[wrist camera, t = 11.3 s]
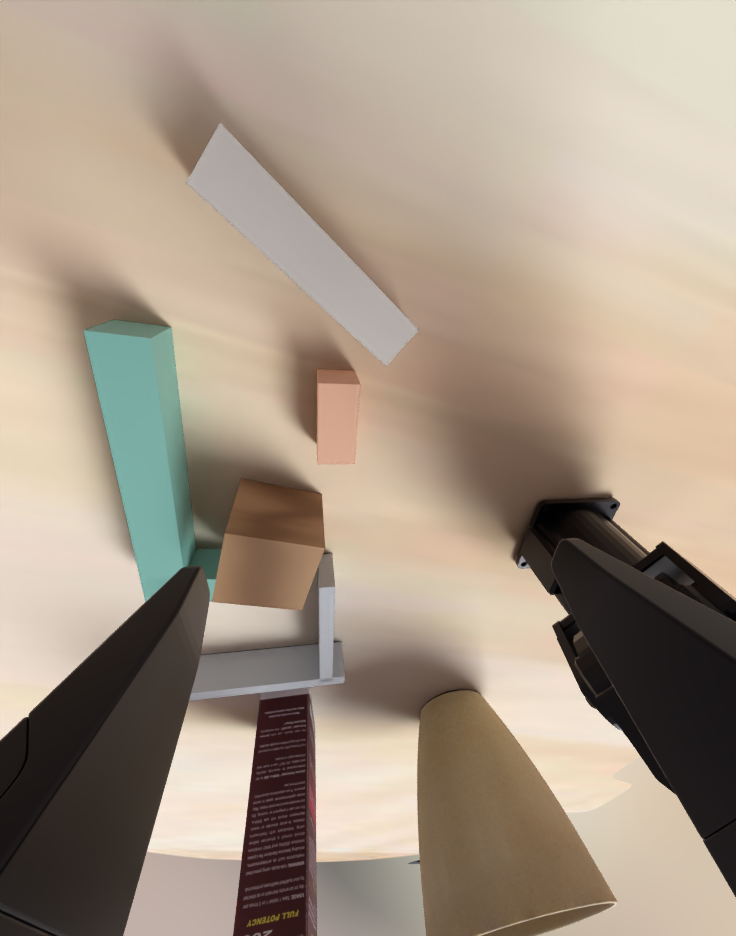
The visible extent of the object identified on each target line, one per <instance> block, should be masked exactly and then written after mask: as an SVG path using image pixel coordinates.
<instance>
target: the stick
mask: <svg viewBox="0 0 736 936" xmlns="http://www.w3.org/2000/svg"><path fill="white" fill-rule="evenodd" d="M186 183H187V184H188V185H189V186H190V187H191V188H192V189H193V190H194V191H195V192H197V193H198V194H199V195H200V196H201V197H202V198H203V199H204V200H205V201H206V202H207V203H209V204H210V205H211V206H212V207H213V208H214V209H215V210H216V211H217V212H218V213H219V214H221V215H222V216H223V217H224V218H225V219H226V220H227V221H228V222H229V223H230V224H231V225H232V226H234V227H235V228H236V229H237V230H238V231H239V232H240V233H241V234H242V235H243V236H244V237H246V238H247V239H248V240H249V241H250V242H251V243H252V244H253V245H254V246H255V247H256V248H258V249H259V250H260V251H261V252H262V253H263V254H264V255H265V256H266V257H267V258H268V259H270V260H271V261H272V262H273V263H274V264H275V265H276V266H277V267H278V268H279V269H280V270H282V271H283V272H284V273H285V274H286V275H287V276H288V277H289V278H290V279H291V280H292V281H294V282H295V283H296V284H297V285H298V286H299V287H300V288H301V289H302V290H303V291H304V292H305V293H307V294H308V295H309V296H310V297H311V298H312V299H313V300H314V301H315V302H316V303H317V304H319V305H320V306H321V307H322V308H323V309H324V310H325V311H326V312H327V313H328V314H329V315H331V316H332V317H333V318H334V319H335V320H336V321H337V322H338V323H339V324H340V325H341V326H343V327H344V328H345V329H346V330H347V331H348V332H349V333H350V334H351V335H352V336H353V337H355V338H356V339H357V340H358V341H359V342H360V343H361V344H362V345H363V346H364V347H365V348H367V349H368V350H369V351H370V352H371V353H372V354H373V355H374V356H375V357H376V358H377V359H378V360H380V361H381V362H382V363H383V364H384V365H385V366H387V365H388V364H389V363H390V362H391V361H392V359H393V358H394V357H395V356H396V355H397V354H398V353H399V352H400V350H401V349H402V348H403V347H404V346H405V345H406V344H407V343H408V342H409V340H410V339H411V338H412V337H413V336H414V335H415V334H416V333H417V331H418V330H419V329H418V328H417V327H416V326H415V325H414V324H413V323H412V322H411V321H410V320H409V319H408V318H407V317H406V316H405V315H404V314H403V313H402V312H401V311H400V310H399V309H398V308H397V306H396V305H395V304H394V303H393V302H392V301H391V300H390V299H389V298H388V297H387V296H386V295H385V294H384V293H383V292H382V291H381V290H380V289H379V288H378V287H377V286H376V285H375V284H374V282H373V281H372V280H371V279H370V278H369V277H368V276H367V275H366V274H365V273H364V272H363V271H362V270H361V269H360V268H359V267H358V266H357V265H356V264H355V263H354V262H353V261H352V260H351V258H350V257H349V256H348V255H347V254H346V253H345V252H344V251H343V250H342V249H341V248H340V247H339V246H338V245H337V244H336V243H335V242H334V241H333V240H332V239H331V238H330V237H329V236H328V234H327V233H326V232H325V231H324V230H323V229H322V228H321V227H320V226H319V225H318V224H317V223H316V222H315V221H314V220H313V219H312V218H311V217H310V216H309V215H308V214H307V213H306V212H305V210H304V209H303V208H302V207H301V206H300V205H299V204H298V203H297V202H296V201H295V200H294V199H293V198H292V197H291V196H290V195H289V194H288V193H287V192H286V191H285V190H284V189H283V188H282V186H281V185H280V184H279V183H278V182H277V181H276V180H275V179H274V178H273V177H272V176H271V175H270V174H269V173H268V172H267V171H266V170H265V169H264V168H263V167H262V166H261V165H260V164H259V162H258V161H257V160H256V159H255V158H254V157H253V156H252V155H251V154H250V153H249V152H248V151H247V150H246V149H245V148H244V147H243V146H242V145H241V144H240V143H239V142H238V141H237V140H236V138H235V137H234V136H233V135H232V134H231V133H230V132H229V131H228V130H227V129H226V128H225V127H224V126H223V125H222V124H221V123H219V125H218V127H217V129H216V130H215V132H214V134H213V136H212V137H211V139H210V141H209V143H208V145H207V146H206V148H205V150H204V152H203V154H202V155H201V157H200V159H199V161H198V163H197V164H196V166H195V168H194V170H193V172H192V173H191V175H190V177H189V179H188V181H187V182H186Z"/></svg>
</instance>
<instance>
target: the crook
mask: <svg viewBox="0 0 736 936" xmlns="http://www.w3.org/2000/svg"><path fill="white" fill-rule="evenodd" d="M83 331H84V335H85V340H86V344H87V348H88V353H89V357H90V361H91V366H92V370H93V375H94V379H95V383H96V388H97V392H98V396H99V401H100V405H101V409H102V414H103V418H104V423H105V427H106V431H107V436H108V440H109V444H110V449H111V453H112V458H113V462H114V466H115V471H116V475H117V479H118V484H119V488H120V492H121V497H122V501H123V506H124V510H125V514H126V519H127V523H128V527H129V532H130V536H131V540H132V545H133V549H134V554H135V558H136V562H137V567H138V571H139V575H140V580H141V584H142V588H143V593H144V597H145V602H146V601H147V600H148V599H149V598H150V597H151V596H152V595H153V594H155V593H156V592H157V591H158V590H159V589H160V588H161V587H162V586H163V585H164V584H165V583H166V582H167V581H168V580H169V579H170V578H171V577H172V576H173V575H174V574H175V573H177V572H178V571H179V570H180V569H181V568H183V567H187V566H201V567H202V568H203V569H204V572H205V576H206V579H207V583H208V586H209V590H210V600H209V601H212V597H213V592H214V587H215V582H216V577H217V571H218V566H219V561H220V556H221V550H222V549H196V542H195V533H194V525H193V516H192V507H191V498H190V489H189V480H188V471H187V462H186V453H185V444H184V435H183V426H182V417H181V409H180V400H179V391H178V382H177V373H176V364H175V355H174V346H173V337H172V328H171V327H168V326H160V325H152V324H144V323H137V322H129V321H121V320H111V321H108V322H105V323H103V324H100V325H97V326H94V327H91V328H88V329H85V330H83Z"/></svg>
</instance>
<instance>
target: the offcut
mask: <svg viewBox="0 0 736 936" xmlns="http://www.w3.org/2000/svg"><path fill="white" fill-rule="evenodd" d="M359 397H360V382H359V380H358V377H357V375H356V372H355V371H349V370H323V369H317V462H318V464H355V455H356V441H357V426H358V412H359Z"/></svg>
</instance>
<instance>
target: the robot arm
mask: <svg viewBox="0 0 736 936" xmlns="http://www.w3.org/2000/svg"><path fill="white" fill-rule="evenodd" d="M619 506H620V502H618V501H617V500H616V499H615V498H595V499H567V500H544V501H541V502H540V503H539V504H538V505H537V507H536V510H535V512H534V515H533V517H532V520H531V523H530V525H529V528H528V530H527V533H526V536H525V538H524V541H523V543H522V546H521V549H520V551H519V554H518V556H517V559H516V564H517V566H518V567H519V568H520V569H525V568H531V569H532V571H533V572H534V573H535V575H536V576H537V578H538V579H539V580H540V582H541V583H542V585H543V586H544V588H545V589H546V590H547V592H548V593H549V594H550V595H555V596H556V598H557V599H558V600H559V602H560V603H561V605H562V606H563V607H564V609H565V610H566V611H567V613H568V614H569V615H568V616H567V617H565V618H564V619H563V620H561V621H558V622H556V623H555V624H554V625H552V627H553V629H554V631H555V633H556V636H557V640H558V642H559V644H560V646H561V648H562V651H563V653H564V655H565V657H566V659H567V661H568V664H569V666H570V668H571V670H572V672H573V674H574V677H575V679H576V681H577V683H578V685H579V687H580V690H581V692H582V693H583V695H584V696H585V698H586V700H587V702H588V703H589V705H590V706H591V707H593V708H595V709H597V710H598V711H599V712H600V713H601V714H602V715H603V716H604V717H605V719H607V720H608V721H609V722H610V723H611V724H612V725H613V726H615V727H616V728H617V729H619V730H621V731H623V732H624V734H625V735H626V736H627V738H628V739H629V740H630V742H631V743H632V745H633V746H634V747H635V749H636V750H637V752H638V753H639V755H640V756H641V757H642V759H643V760H644V762H645V763H646V765H647V766H648V768H649V769H650V770H651V772H652V774H653V775H654V776H655V778H656V779H657V780H658V781H659V782H660V783H662V784H663V785H664V786H666V787H667V788H668V789H669V790H671V791H672V792H673V793H675V794H676V795H677V796H678V798H679V800H680V802H681V803H682V805H683V807H684V809H685V810H686V812H687V814H688V816H689V817H690V819H691V820H692V822H693V824H694V826H695V827H696V829H697V831H698V833H699V834H700V836H701V837H702V838H703V842H704V843H705V845H706V847H707V848H708V850H709V852H710V854H711V856H712V857H713V859H714V861H715V862H716V864H717V866H718V868H719V869H720V871H721V873H722V874H723V876H724V878H725V880H726V881H727V883H728V885H729V887H730V888H731V890H732V892H733V893H734V895H735V897H736V598H734V597H733V596H732V595H731V594H729V593H728V592H727V591H726V590H724V589H723V588H722V587H721V586H719V585H718V584H717V583H716V582H715V581H713V580H712V579H711V578H710V577H708V576H707V575H706V574H705V573H703V572H702V571H701V570H700V569H698V568H697V567H696V566H695V565H693V564H692V563H691V562H689V561H688V560H687V559H685V558H684V557H683V556H681V555H680V554H679V553H678V552H676V551H675V550H674V549H672V548H671V547H670V546H668V545H667V544H666V543H665V542H663V541H662V542H661V543H660V544H658V545H657V546H656V549H655V550H653V551H652V552H651V553H649V552H648V551H647V550H646V549H645V548H644V547H643V546H641V545H640V544H639V543H638V542H637V541H636V540H635V539H633V538H632V537H631V536H630V535H629V534H628V533H627V532H625V531H624V530H623V529H622V528H621V527H620V526H619V525H617V524H616V523H615V522H614V521H613V520H612V519H613V517H614V515H615V513H616V511H617V510H618V508H619ZM209 600H210V590H209V586H208V583H207V579H206V576H205V572H204V569H203V568H202V567H201V566H187V567H183V568H181V569H180V570H179V571H178V572H177V573H175V574H174V575H173V576H172V577H171V578H170V579H169V580H168V581H167V582H166V583H165V584H164V585H163V586H162V587H161V588H160V589H159V590H158V591H157V592H156V593H155V594H153V595H152V596H151V597H150V598H149V599H148V600H147V601H146V602H145V603H144V604H143V605H142V606H141V607H140V608H139V609H138V610H137V611H136V612H135V613H134V614H133V615H131V616H130V617H129V618H128V619H127V620H126V621H125V622H124V623H123V624H122V625H121V626H120V627H119V628H118V629H117V630H116V631H115V632H114V633H113V634H112V635H111V636H109V637H108V638H107V639H106V640H105V641H104V642H103V643H102V644H101V645H100V646H99V647H98V648H97V649H96V650H95V651H94V652H93V653H92V654H91V655H90V656H89V657H87V658H86V659H85V660H84V661H83V662H82V663H81V664H80V665H79V666H78V667H77V668H76V669H75V670H74V671H73V672H72V673H71V674H70V675H69V676H68V677H66V678H65V679H64V680H63V681H62V682H61V683H60V684H59V685H58V686H57V687H56V688H55V689H54V690H53V691H52V692H51V693H50V694H49V695H48V696H47V697H46V698H44V699H43V700H42V701H41V702H40V703H39V704H38V705H37V706H36V707H35V708H34V709H33V710H32V711H31V712H30V713H29V717H25V718H23V719H22V720H21V721H20V722H19V723H18V724H17V725H16V726H15V727H14V728H13V729H12V730H11V731H10V732H9V733H8V734H7V735H5V736H4V737H3V738H2V739H1V740H0V936H123V934H124V931H125V927H126V924H127V920H128V916H129V913H130V909H131V906H132V902H133V899H134V895H135V891H136V888H137V884H138V881H139V877H140V873H141V870H142V867H143V863H144V859H145V856H146V852H147V849H148V845H149V842H150V838H151V834H152V831H153V827H154V824H155V820H156V817H157V813H158V809H159V806H160V802H161V799H162V795H163V792H164V788H165V784H166V781H167V777H168V774H169V770H170V767H171V763H172V760H173V756H174V752H175V749H176V745H177V742H178V738H179V735H180V731H181V727H182V724H183V720H184V717H185V713H186V710H187V706H188V702H189V699H190V695H191V692H192V688H193V685H194V681H195V677H196V674H197V670H198V666H199V660H200V655H201V649H202V643H203V637H204V631H205V625H206V619H207V612H208V606H209Z"/></svg>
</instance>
